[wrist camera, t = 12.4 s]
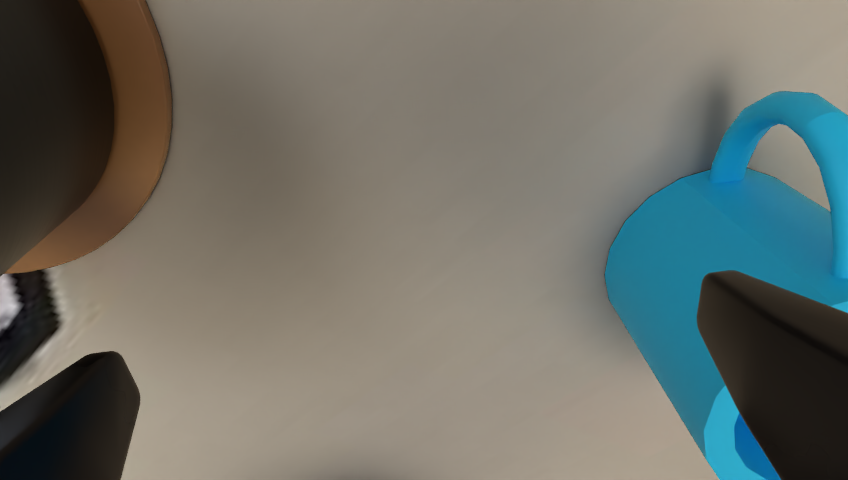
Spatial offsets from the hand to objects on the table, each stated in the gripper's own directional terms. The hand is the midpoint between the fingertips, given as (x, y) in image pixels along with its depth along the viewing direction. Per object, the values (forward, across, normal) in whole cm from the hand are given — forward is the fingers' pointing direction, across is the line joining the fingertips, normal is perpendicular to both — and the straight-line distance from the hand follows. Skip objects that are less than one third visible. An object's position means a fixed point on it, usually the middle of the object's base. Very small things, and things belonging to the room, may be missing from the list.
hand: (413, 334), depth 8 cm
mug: (+12, -12, +6) cm, 18 cm away
